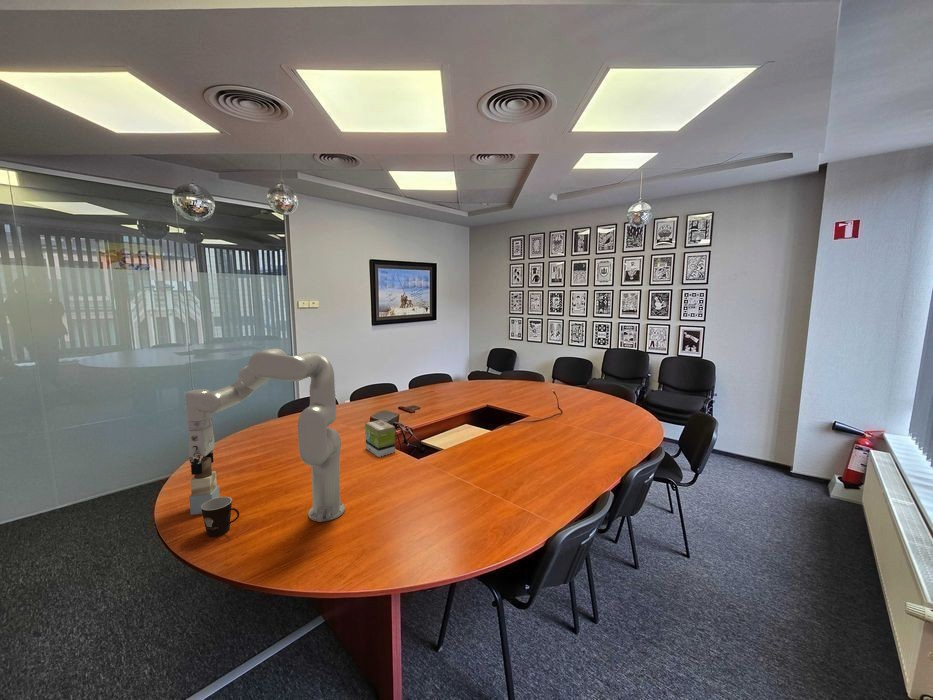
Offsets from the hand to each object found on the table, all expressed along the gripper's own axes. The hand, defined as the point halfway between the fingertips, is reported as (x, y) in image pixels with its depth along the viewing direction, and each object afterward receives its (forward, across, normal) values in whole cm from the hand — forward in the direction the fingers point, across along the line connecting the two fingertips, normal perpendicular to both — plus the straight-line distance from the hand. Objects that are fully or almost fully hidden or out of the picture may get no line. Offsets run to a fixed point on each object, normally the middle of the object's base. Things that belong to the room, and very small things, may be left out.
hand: (202, 468), depth 136 cm
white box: (+16, 0, 0) cm, 16 cm away
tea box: (+16, +43, -65) cm, 80 cm away
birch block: (+9, 0, 0) cm, 9 cm away
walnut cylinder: (+3, 0, 0) cm, 3 cm away
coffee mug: (+16, -18, -11) cm, 26 cm away
